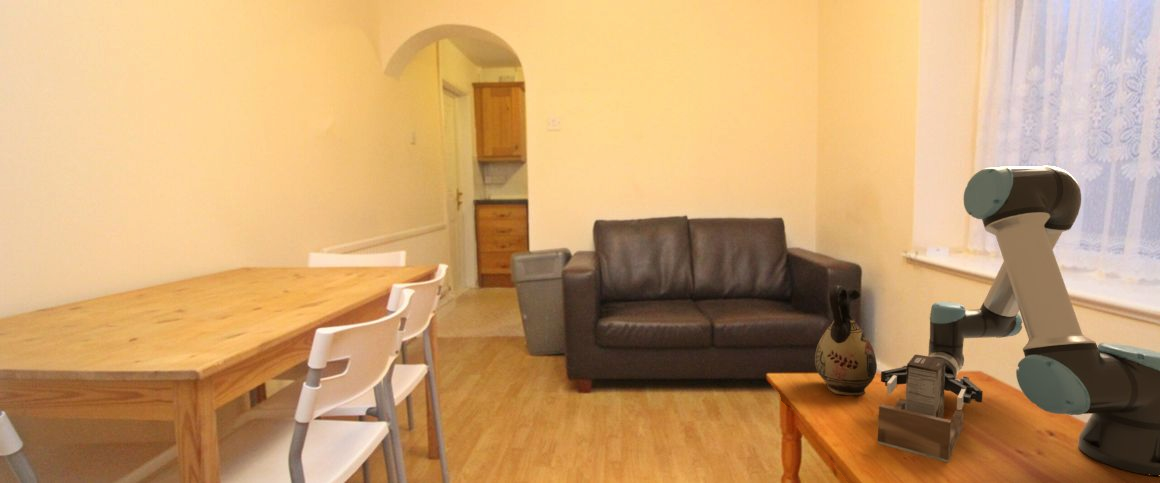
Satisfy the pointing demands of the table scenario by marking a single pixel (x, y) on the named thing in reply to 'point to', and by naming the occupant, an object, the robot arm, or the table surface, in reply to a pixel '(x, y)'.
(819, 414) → the table surface
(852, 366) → the ceramic jug
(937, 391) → the coffee box
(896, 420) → the wooden tray
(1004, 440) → the table surface
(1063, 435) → the table surface
